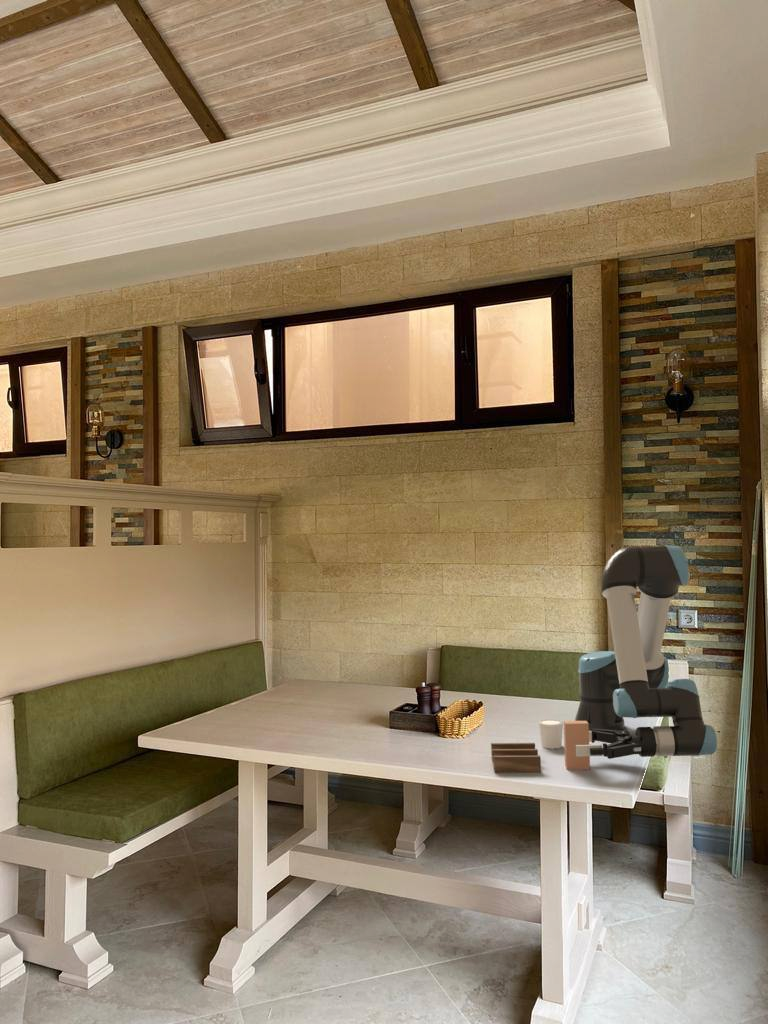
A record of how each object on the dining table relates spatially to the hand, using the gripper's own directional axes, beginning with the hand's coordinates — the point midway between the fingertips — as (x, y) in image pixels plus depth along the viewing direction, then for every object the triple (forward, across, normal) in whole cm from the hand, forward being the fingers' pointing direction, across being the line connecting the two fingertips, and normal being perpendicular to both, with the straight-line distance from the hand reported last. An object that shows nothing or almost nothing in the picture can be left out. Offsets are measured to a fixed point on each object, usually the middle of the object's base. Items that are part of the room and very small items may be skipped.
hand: (571, 743), depth 207 cm
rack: (+15, +4, -6) cm, 16 cm away
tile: (-1, +1, -7) cm, 7 cm away
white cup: (+2, +22, -7) cm, 23 cm away
